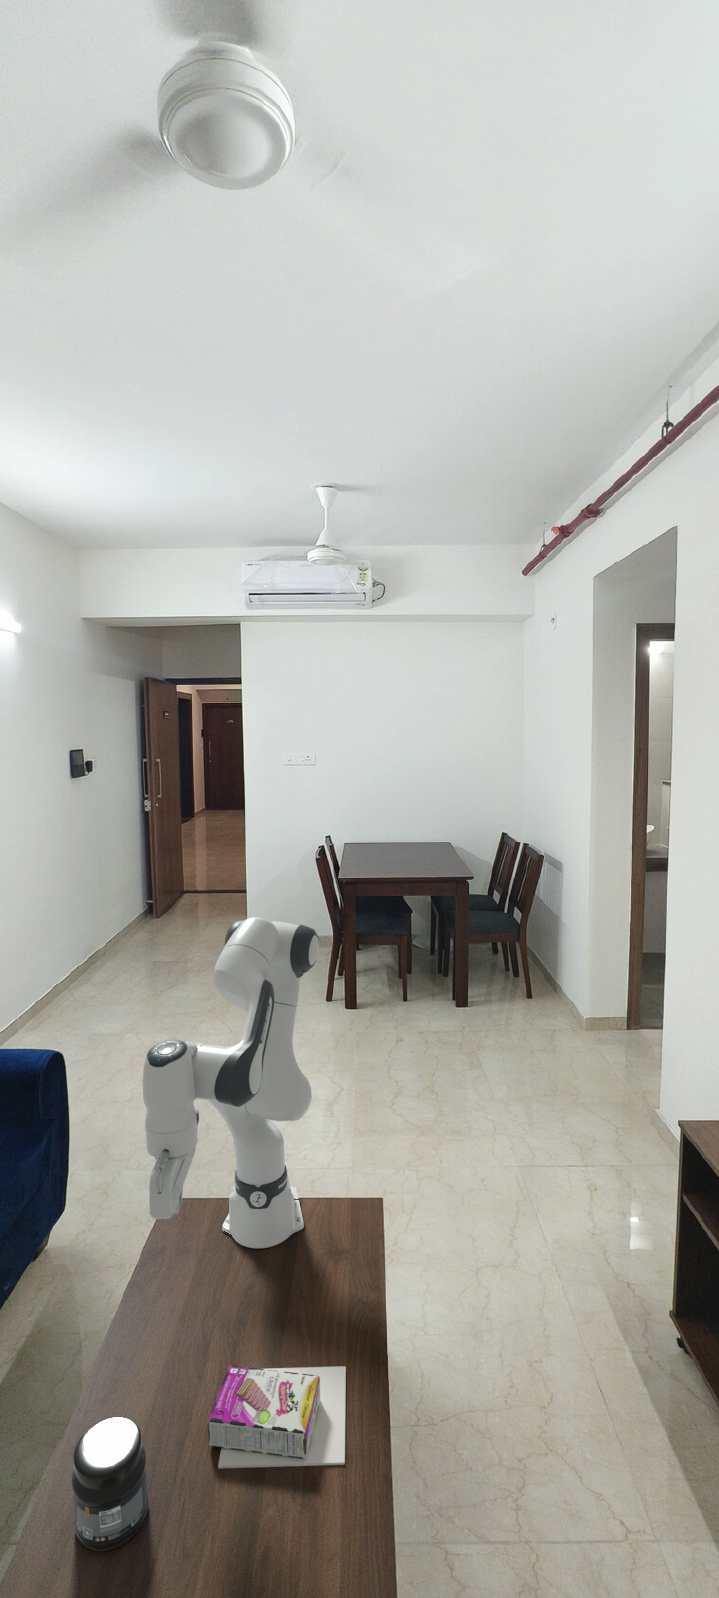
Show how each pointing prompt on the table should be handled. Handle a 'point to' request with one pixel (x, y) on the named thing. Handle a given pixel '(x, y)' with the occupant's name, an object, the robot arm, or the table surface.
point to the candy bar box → (265, 1411)
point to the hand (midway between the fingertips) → (175, 1209)
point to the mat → (326, 1431)
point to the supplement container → (109, 1484)
